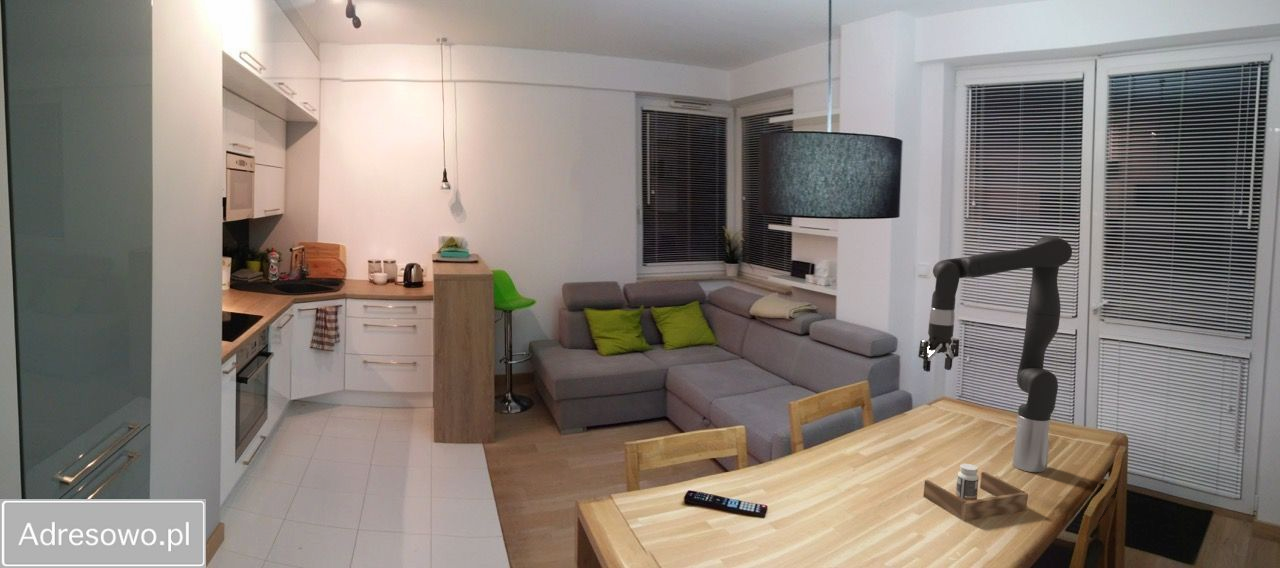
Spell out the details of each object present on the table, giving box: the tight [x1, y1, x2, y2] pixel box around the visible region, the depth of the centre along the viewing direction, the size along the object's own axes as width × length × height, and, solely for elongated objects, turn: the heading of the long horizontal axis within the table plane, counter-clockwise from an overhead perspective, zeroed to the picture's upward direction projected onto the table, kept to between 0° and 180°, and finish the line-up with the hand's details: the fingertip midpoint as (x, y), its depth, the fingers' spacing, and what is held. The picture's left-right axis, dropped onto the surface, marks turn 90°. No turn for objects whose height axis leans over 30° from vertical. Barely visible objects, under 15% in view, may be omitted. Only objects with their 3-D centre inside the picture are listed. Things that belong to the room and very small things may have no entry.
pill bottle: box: [955, 463, 980, 501], centre depth 212 cm, size 6×6×10 cm
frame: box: [923, 471, 1029, 522], centre depth 209 cm, size 22×16×5 cm
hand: (937, 370), depth 239 cm, fingers open, 8 cm apart
